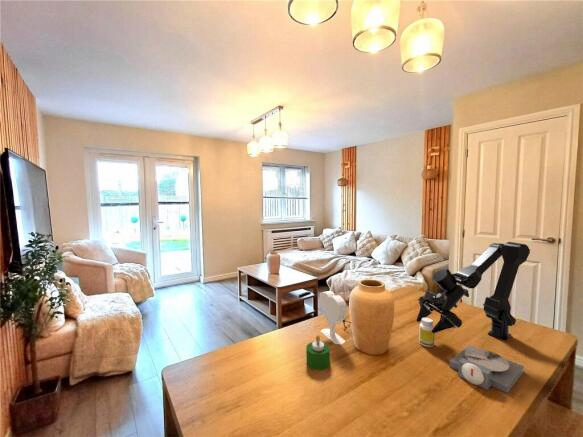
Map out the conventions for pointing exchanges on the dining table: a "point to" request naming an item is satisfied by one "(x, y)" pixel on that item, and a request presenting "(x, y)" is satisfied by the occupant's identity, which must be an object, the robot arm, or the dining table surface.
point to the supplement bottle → (426, 332)
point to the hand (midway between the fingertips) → (424, 326)
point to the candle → (318, 354)
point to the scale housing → (486, 373)
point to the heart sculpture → (333, 314)
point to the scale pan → (487, 359)
